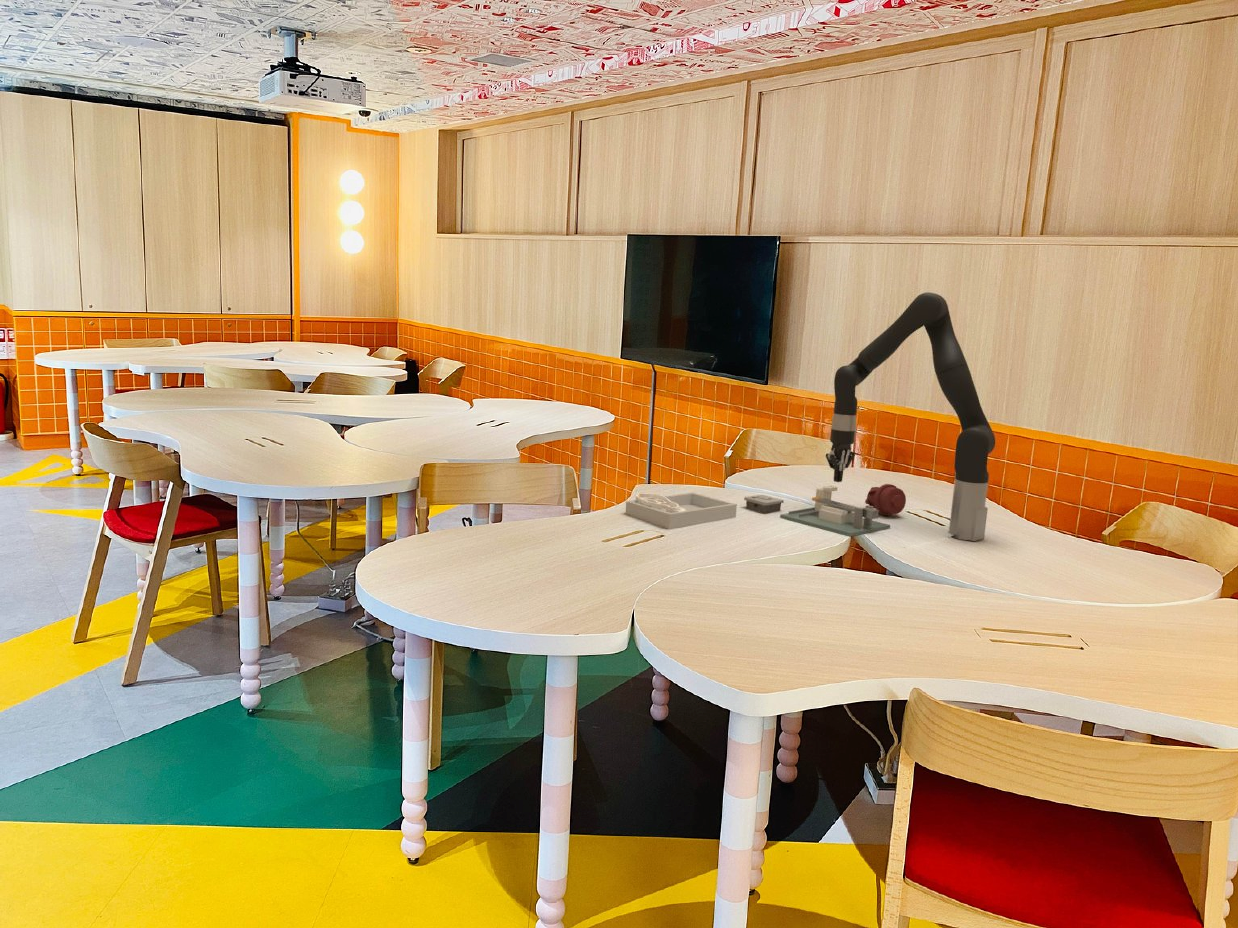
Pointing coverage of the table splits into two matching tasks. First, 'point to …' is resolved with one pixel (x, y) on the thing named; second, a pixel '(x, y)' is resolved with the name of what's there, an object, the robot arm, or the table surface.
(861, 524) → the board
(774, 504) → the electrical switch
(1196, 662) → the table surface
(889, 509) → the mechanical component
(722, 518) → the tray
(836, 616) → the table surface
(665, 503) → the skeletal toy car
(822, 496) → the cream block
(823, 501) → the lever
